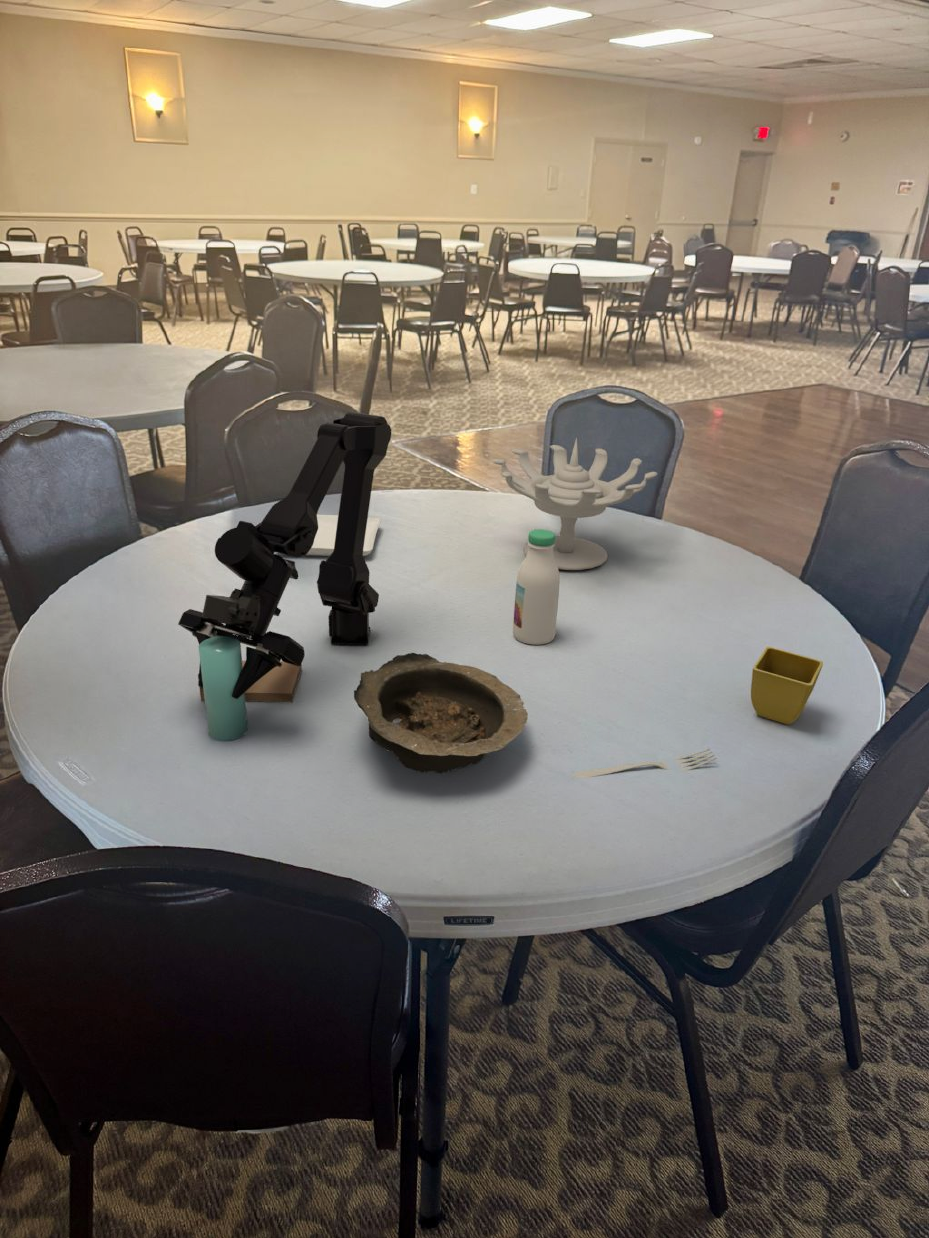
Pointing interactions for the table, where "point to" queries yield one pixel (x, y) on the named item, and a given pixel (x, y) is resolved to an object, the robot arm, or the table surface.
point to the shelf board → (273, 684)
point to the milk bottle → (537, 591)
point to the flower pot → (783, 684)
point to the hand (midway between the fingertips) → (217, 692)
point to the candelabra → (573, 499)
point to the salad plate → (328, 533)
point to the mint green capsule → (223, 687)
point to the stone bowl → (438, 712)
